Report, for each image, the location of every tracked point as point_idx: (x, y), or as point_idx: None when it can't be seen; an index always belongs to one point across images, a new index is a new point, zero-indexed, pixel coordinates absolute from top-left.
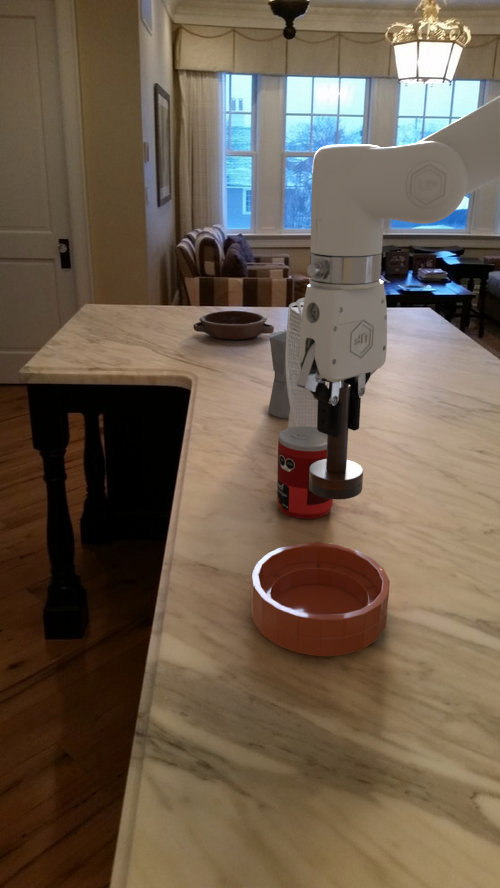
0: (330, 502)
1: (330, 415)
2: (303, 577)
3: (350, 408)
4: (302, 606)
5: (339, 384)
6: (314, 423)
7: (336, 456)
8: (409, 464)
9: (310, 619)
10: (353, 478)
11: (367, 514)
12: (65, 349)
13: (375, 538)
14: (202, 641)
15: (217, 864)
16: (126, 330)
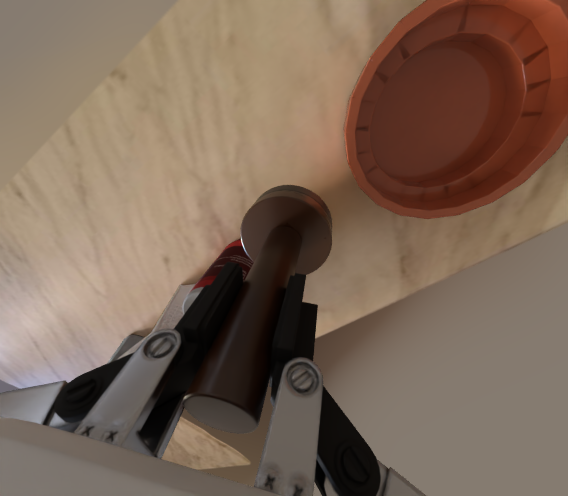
0: (235, 243)
1: (308, 333)
2: (388, 175)
3: (221, 316)
4: (429, 144)
5: (265, 443)
6: (168, 328)
7: (293, 250)
8: (106, 233)
9: None
10: (295, 198)
11: (210, 209)
12: (219, 462)
13: (240, 174)
14: (545, 190)
15: None
16: (170, 452)
